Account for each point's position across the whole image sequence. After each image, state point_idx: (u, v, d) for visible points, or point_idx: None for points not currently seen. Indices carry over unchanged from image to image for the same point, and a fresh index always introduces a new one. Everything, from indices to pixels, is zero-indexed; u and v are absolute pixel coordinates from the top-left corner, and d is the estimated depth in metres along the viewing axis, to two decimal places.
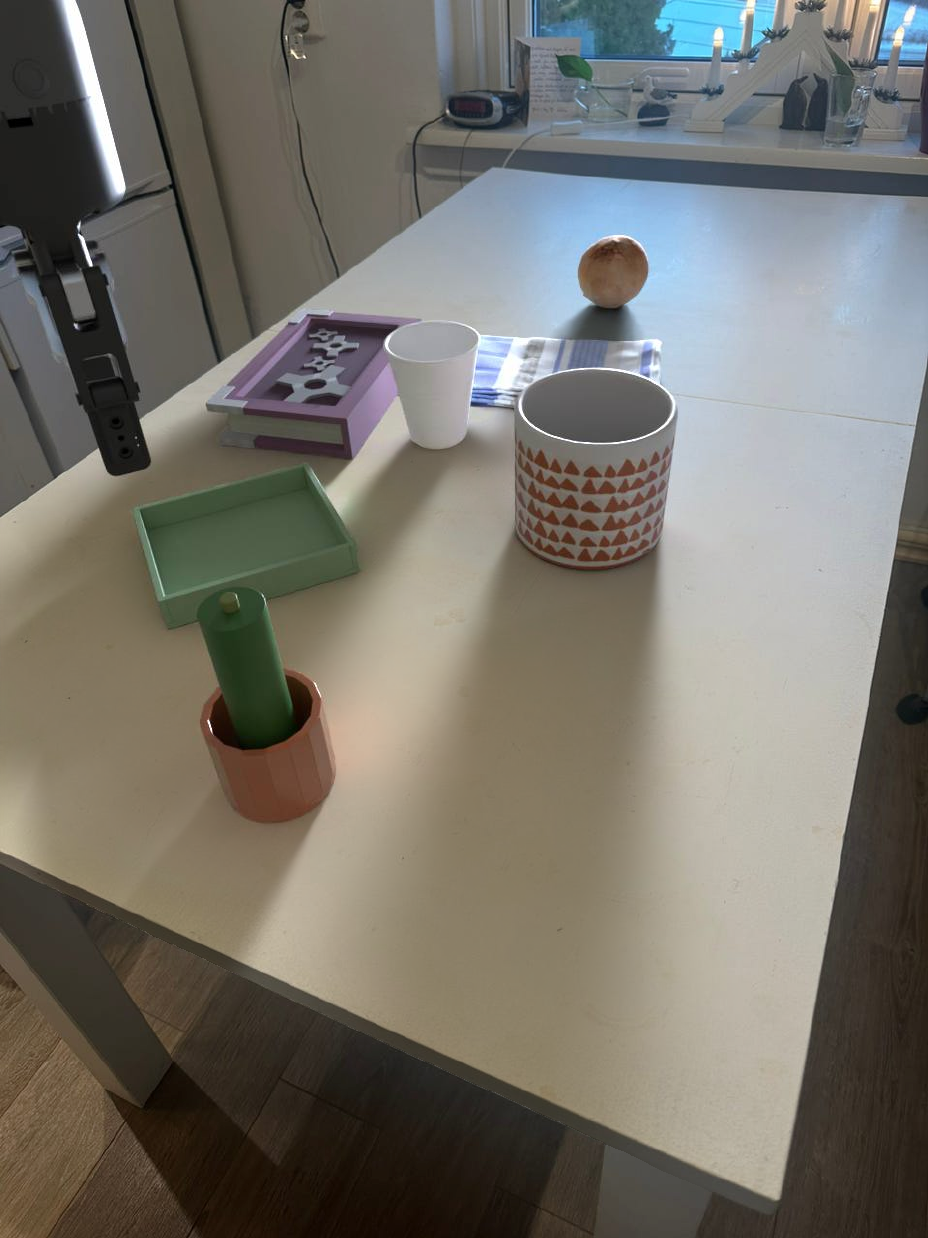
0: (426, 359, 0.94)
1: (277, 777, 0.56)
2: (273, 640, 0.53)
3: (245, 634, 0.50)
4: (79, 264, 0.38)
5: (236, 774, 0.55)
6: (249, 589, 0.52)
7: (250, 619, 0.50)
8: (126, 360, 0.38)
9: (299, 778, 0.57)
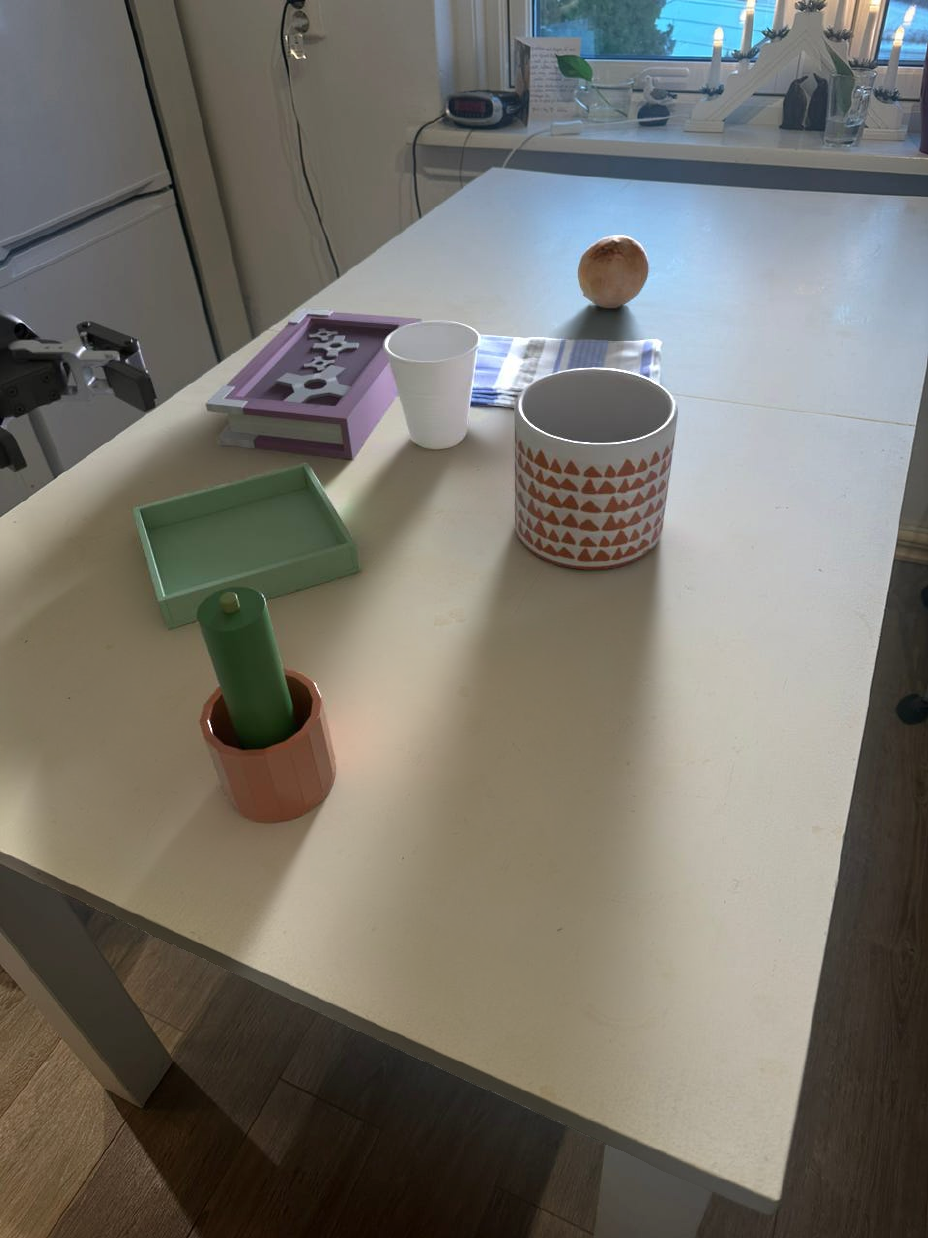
0: (426, 359, 0.94)
1: (277, 777, 0.56)
2: (273, 640, 0.53)
3: (245, 634, 0.50)
4: None
5: (236, 774, 0.55)
6: (249, 589, 0.52)
7: (250, 619, 0.50)
8: None
9: (299, 778, 0.57)
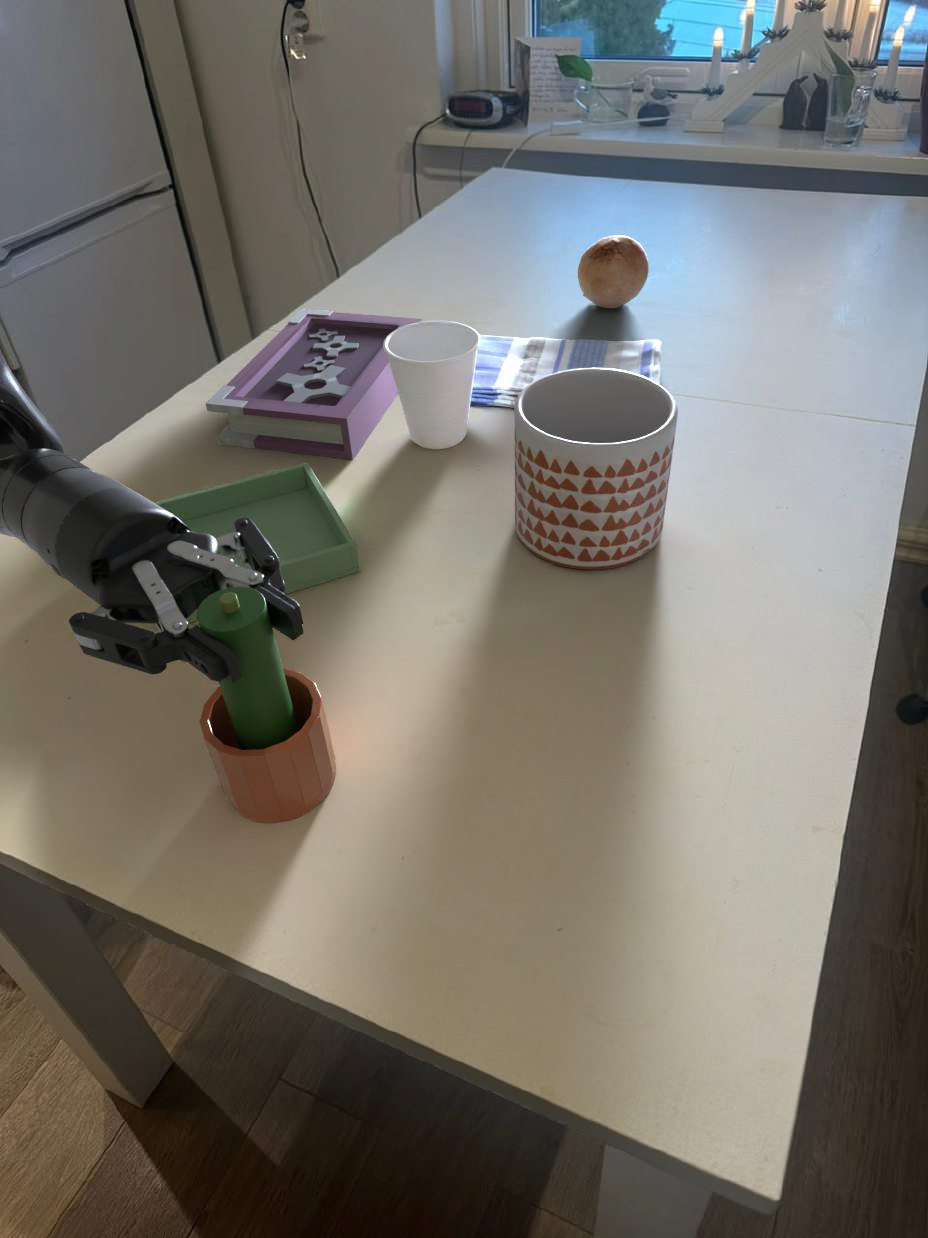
0: (426, 359, 0.94)
1: (277, 777, 0.56)
2: (273, 640, 0.53)
3: (245, 634, 0.50)
4: None
5: (236, 774, 0.55)
6: (249, 589, 0.52)
7: (250, 619, 0.50)
8: None
9: (299, 778, 0.57)
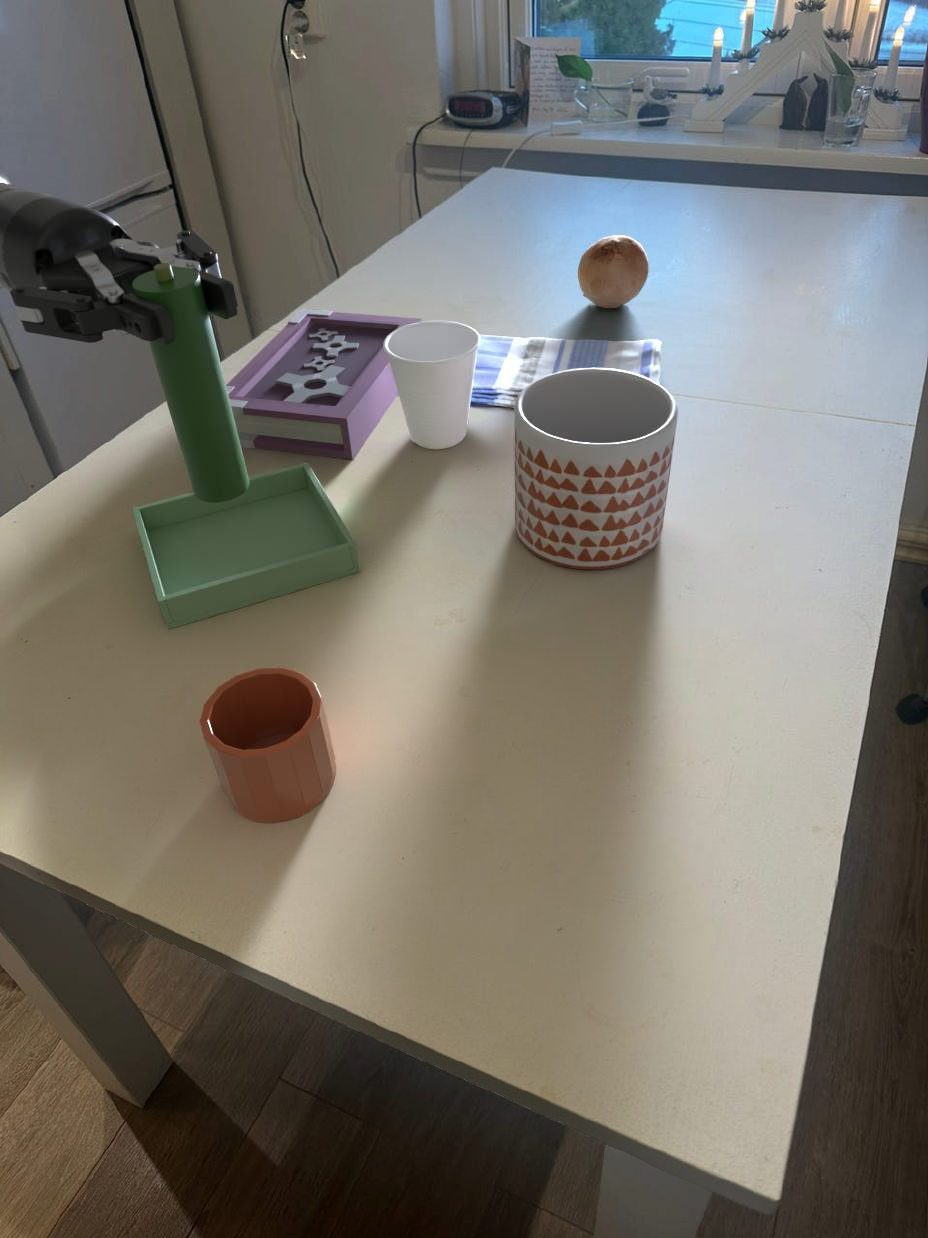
0: (426, 359, 0.94)
1: (277, 777, 0.56)
2: (208, 320, 0.55)
3: (178, 299, 0.52)
4: None
5: (236, 774, 0.55)
6: (184, 268, 0.54)
7: (183, 285, 0.52)
8: None
9: (299, 778, 0.57)
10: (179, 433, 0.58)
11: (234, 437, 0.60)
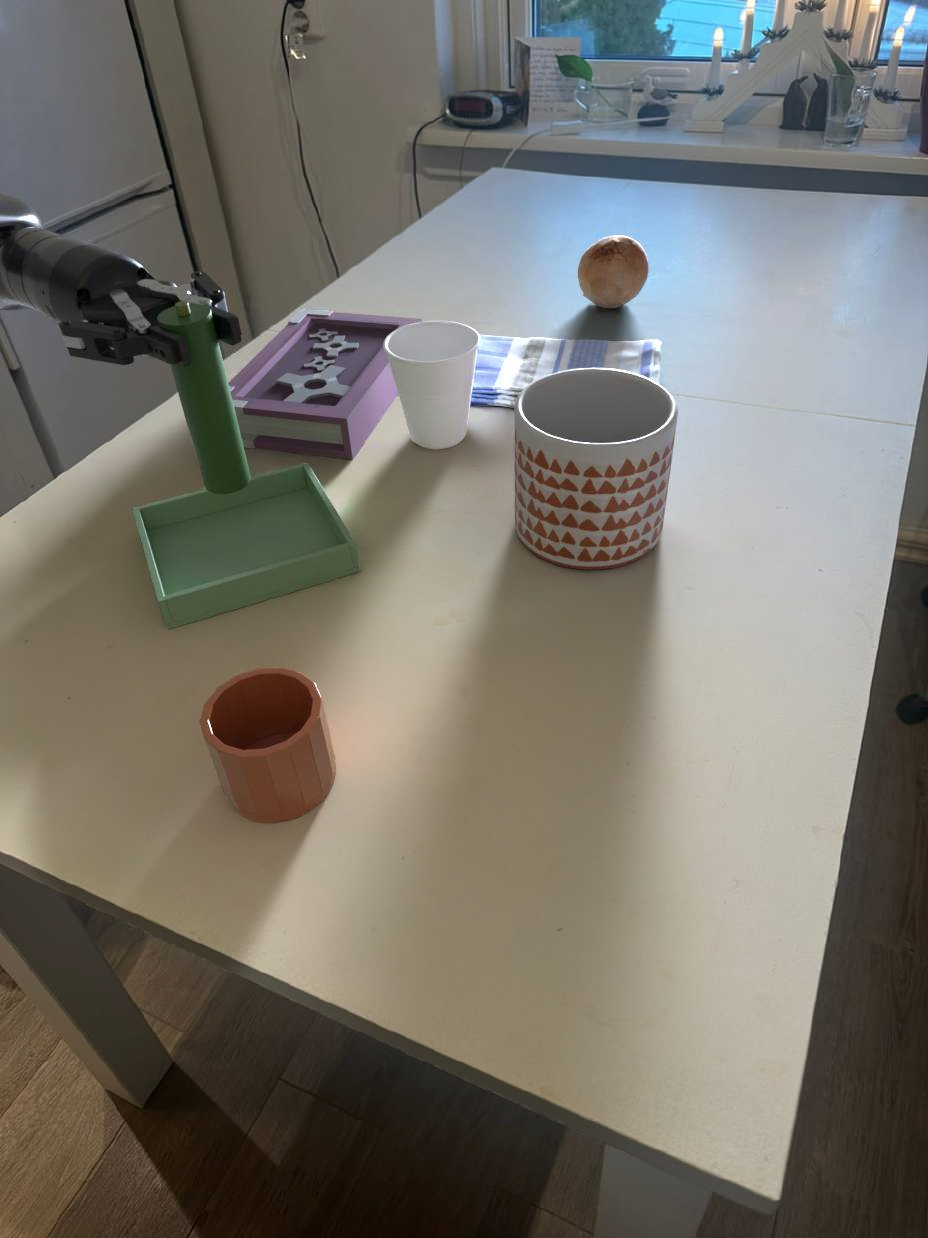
0: (426, 359, 0.94)
1: (277, 777, 0.56)
2: (218, 346, 0.68)
3: (194, 330, 0.65)
4: None
5: (236, 774, 0.55)
6: (199, 304, 0.67)
7: (198, 319, 0.65)
8: None
9: (299, 778, 0.57)
10: (193, 437, 0.72)
11: (238, 440, 0.73)
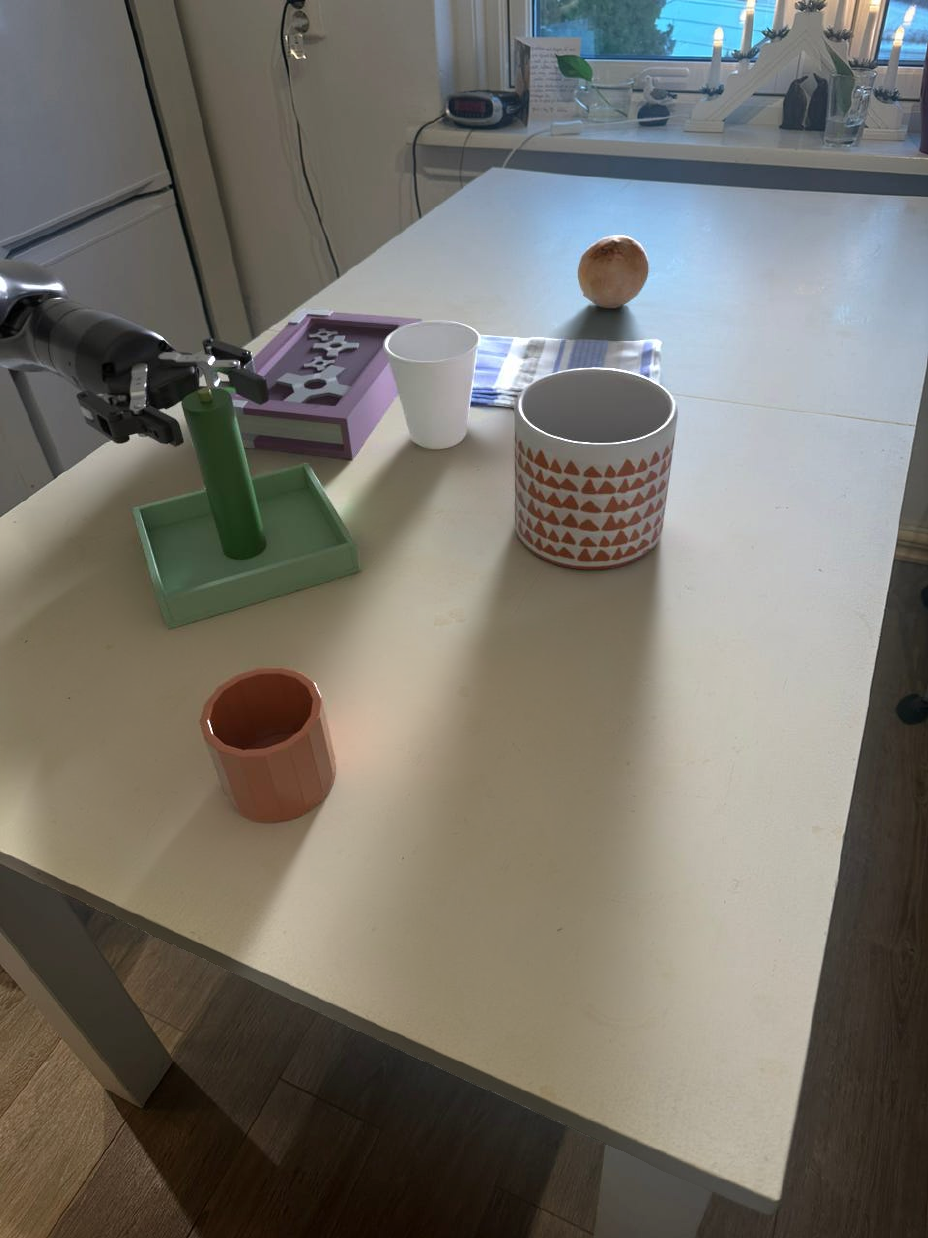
0: (426, 359, 0.94)
1: (277, 777, 0.56)
2: (237, 427, 0.73)
3: (216, 415, 0.70)
4: None
5: (236, 774, 0.55)
6: (219, 389, 0.72)
7: (219, 405, 0.70)
8: None
9: (299, 778, 0.57)
10: (214, 509, 0.76)
11: (255, 510, 0.78)
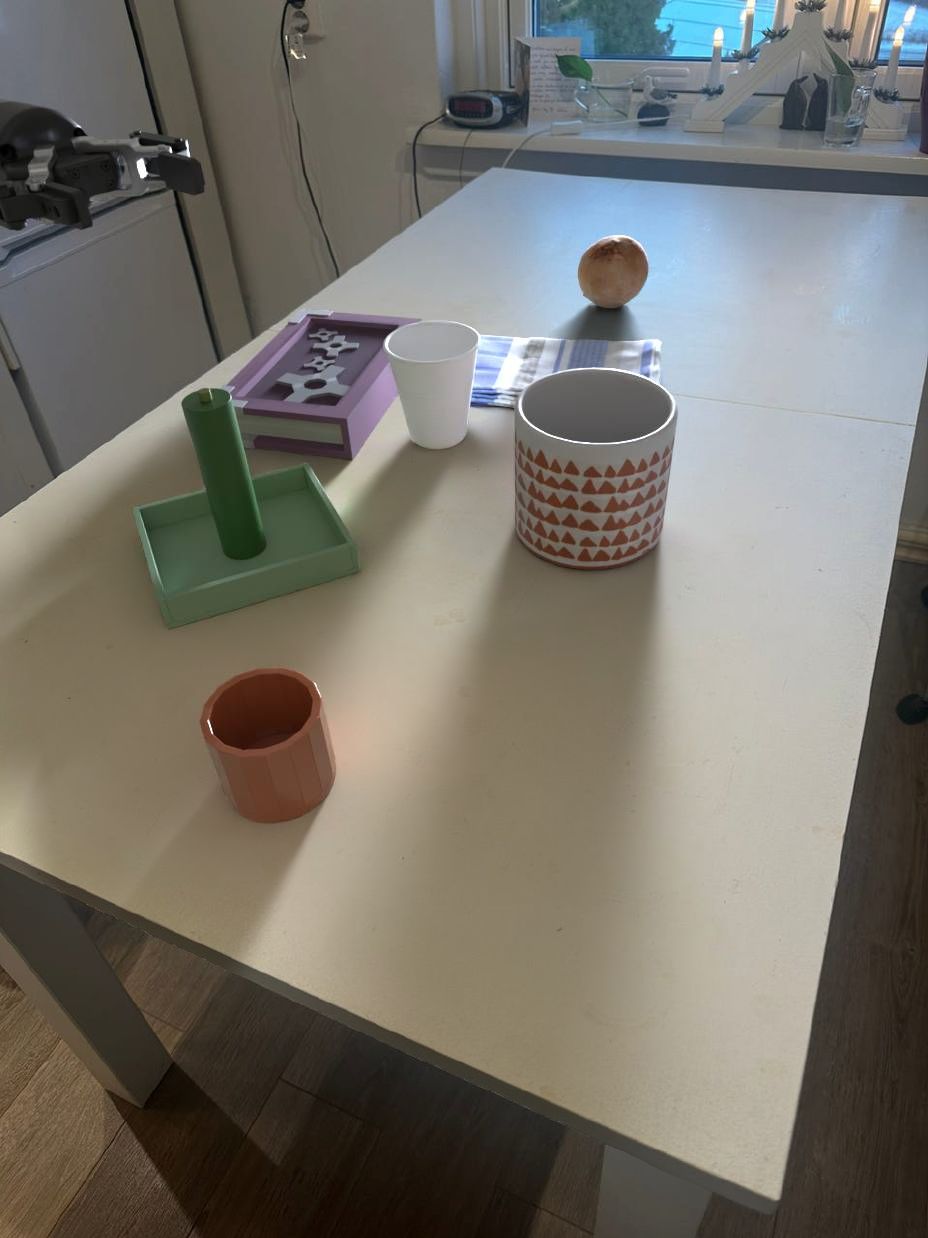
0: (426, 359, 0.94)
1: (277, 777, 0.56)
2: (237, 427, 0.73)
3: (216, 415, 0.70)
4: None
5: (236, 774, 0.55)
6: (219, 389, 0.72)
7: (219, 405, 0.70)
8: None
9: (299, 778, 0.57)
10: (214, 509, 0.76)
11: (255, 510, 0.78)
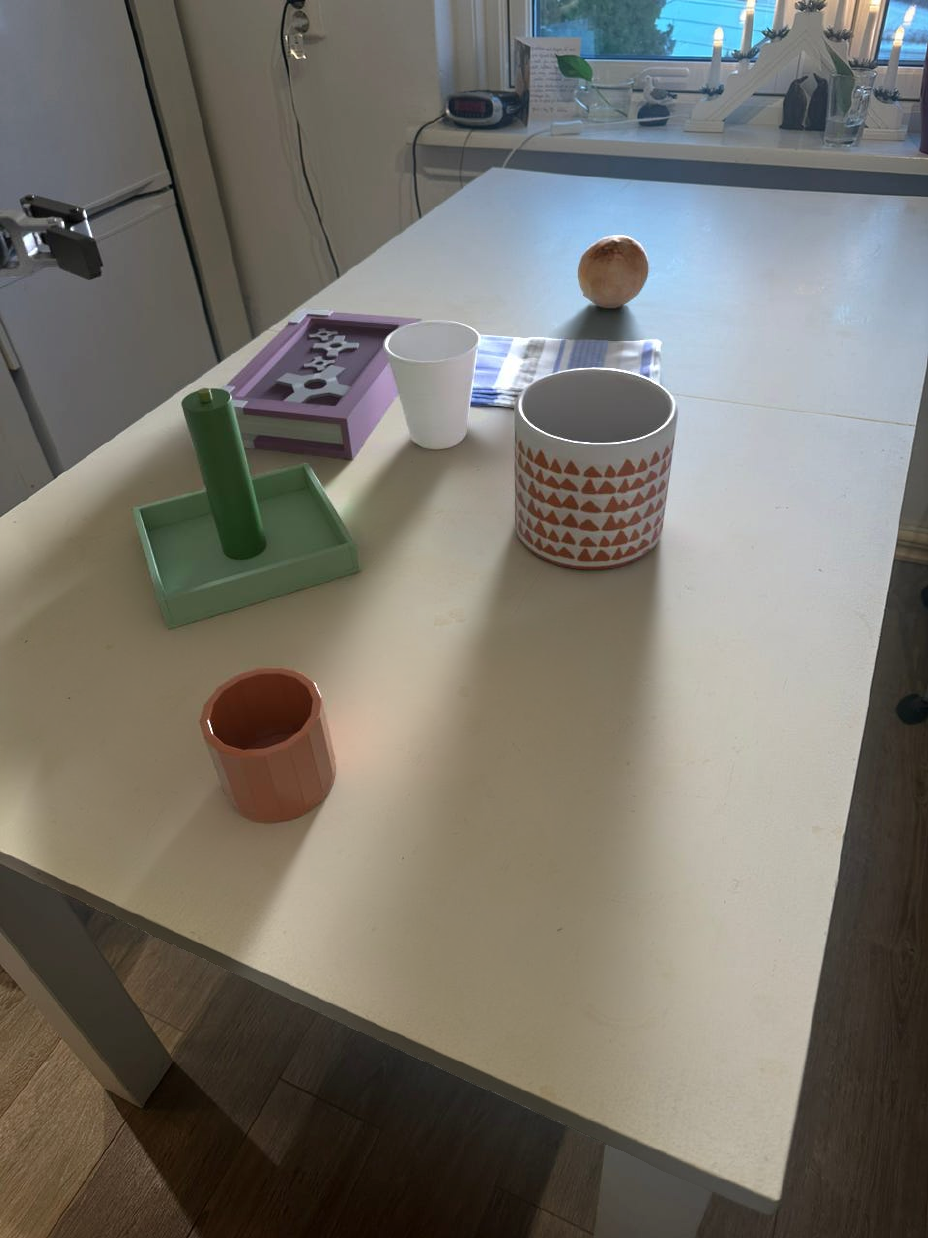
0: (426, 359, 0.94)
1: (277, 777, 0.56)
2: (237, 427, 0.73)
3: (216, 415, 0.70)
4: None
5: (236, 774, 0.55)
6: (219, 389, 0.72)
7: (219, 405, 0.70)
8: None
9: (299, 778, 0.57)
10: (214, 509, 0.76)
11: (255, 510, 0.78)
